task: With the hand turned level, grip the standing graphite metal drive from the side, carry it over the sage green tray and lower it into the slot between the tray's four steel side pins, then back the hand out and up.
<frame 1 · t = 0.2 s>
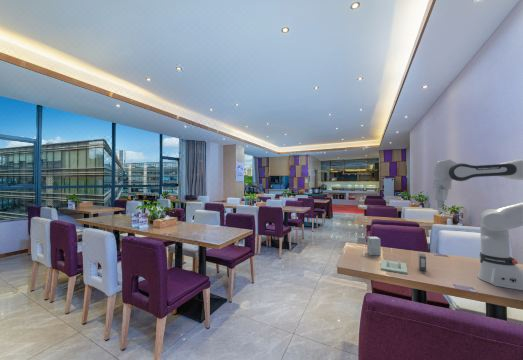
hand: (440, 207, 140), 39 cm above the table, tool pointing down, fingers open, 8 cm apart
drive: (422, 269, 139), on the table
supplement box: (373, 254, 170), on the table
pin tray: (393, 267, 143), on the table
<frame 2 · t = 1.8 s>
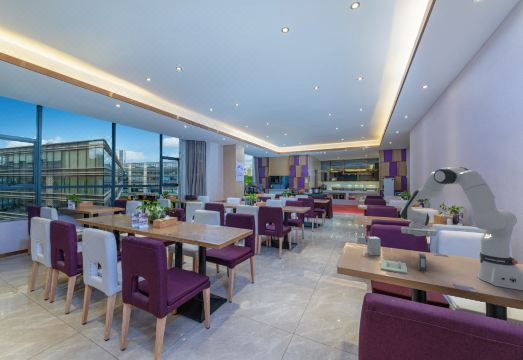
hand: (419, 233, 150), 20 cm above the table, tool horizontal, fingers open, 8 cm apart
nothing on the table moved.
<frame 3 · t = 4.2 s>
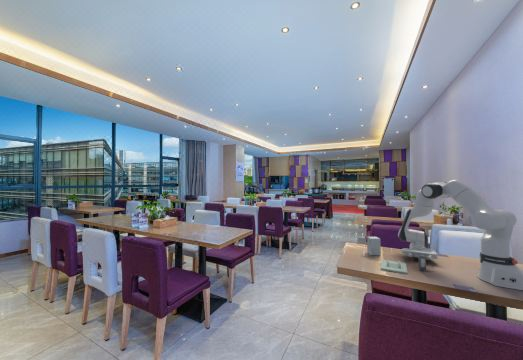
hand: (420, 256, 148), 5 cm above the table, tool horizontal, fingers open, 8 cm apart
nothing on the table moved.
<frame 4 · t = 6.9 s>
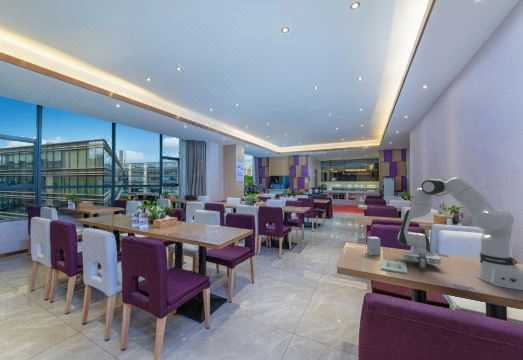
hand: (422, 261, 139), 5 cm above the table, tool horizontal, fingers closed on drive, 3 cm apart
drive: (422, 269, 139), on the table, touching gripper
everything else where it was.
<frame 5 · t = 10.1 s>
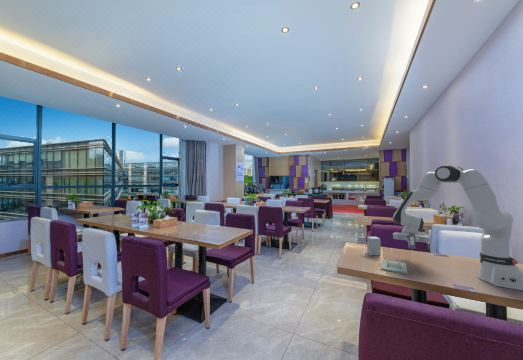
hand: (411, 239, 140), 18 cm above the table, tool horizontal, fingers closed on drive, 3 cm apart
drive: (411, 247, 141), point 13 cm above the table, touching gripper
everything else where it was.
when the fingers open (7 cm above the table, at t = 13.7 s): drive drops 1 cm, resting on pin tray.
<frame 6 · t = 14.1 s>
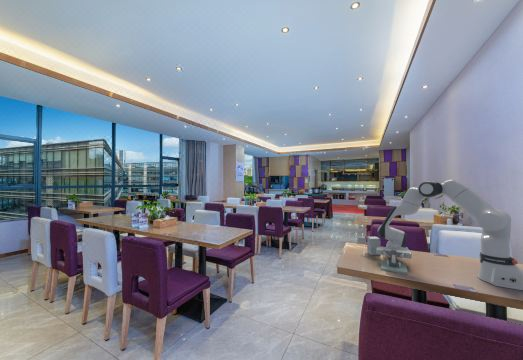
hand: (393, 255, 142), 7 cm above the table, tool horizontal, fingers open, 7 cm apart
drive: (393, 265, 143), point 1 cm above the table, touching pin tray
everything else where it was.
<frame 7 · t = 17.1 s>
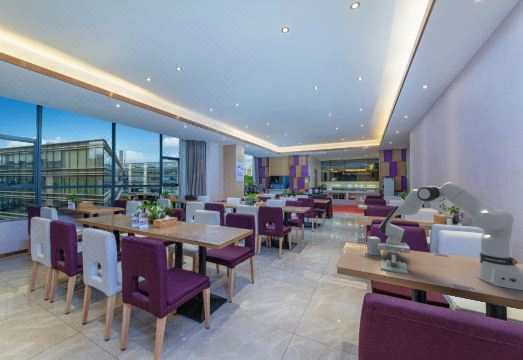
hand: (393, 250, 153), 8 cm above the table, tool horizontal, fingers open, 8 cm apart
nothing on the table moved.
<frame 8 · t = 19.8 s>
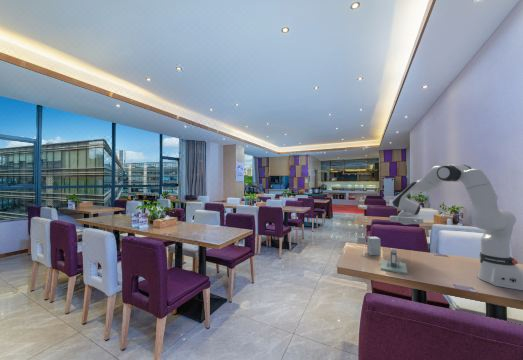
hand: (406, 221, 153), 28 cm above the table, tool horizontal, fingers open, 8 cm apart
nothing on the table moved.
at the end: drive 0.1 cm off-centre on the pin tray, point 1.1 cm above the pin tray's base; drive tilted 0°; the gripper is holding nothing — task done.
